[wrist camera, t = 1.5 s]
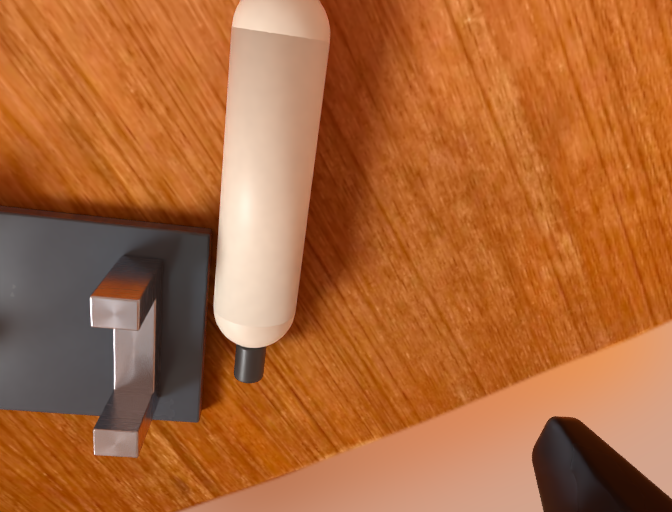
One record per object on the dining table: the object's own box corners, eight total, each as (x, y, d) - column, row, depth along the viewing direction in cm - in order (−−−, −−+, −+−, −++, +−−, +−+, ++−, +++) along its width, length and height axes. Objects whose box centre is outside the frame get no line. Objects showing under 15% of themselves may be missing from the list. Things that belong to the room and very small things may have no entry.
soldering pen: (287, 357, 24) (286, 402, 21) (214, 351, 24) (203, 396, 21) (351, -146, 17) (362, -184, 14) (249, -165, 17) (240, -208, 14)
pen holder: (212, 228, 22) (193, 272, 18) (201, 412, 25) (183, 485, 21) (-172, 186, 20) (-291, 224, 16) (-130, 389, 23) (-221, 463, 19)
